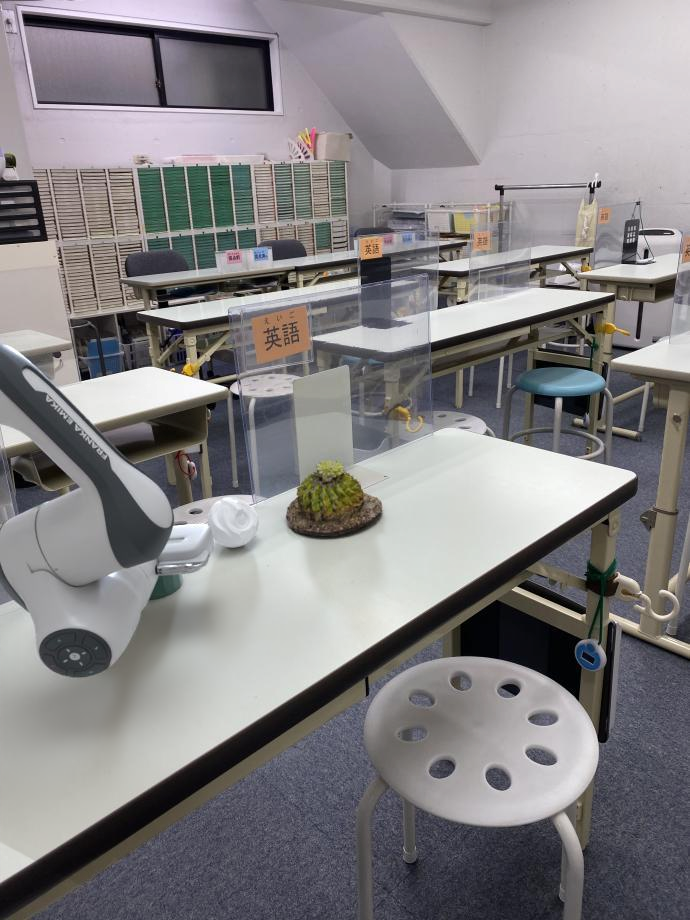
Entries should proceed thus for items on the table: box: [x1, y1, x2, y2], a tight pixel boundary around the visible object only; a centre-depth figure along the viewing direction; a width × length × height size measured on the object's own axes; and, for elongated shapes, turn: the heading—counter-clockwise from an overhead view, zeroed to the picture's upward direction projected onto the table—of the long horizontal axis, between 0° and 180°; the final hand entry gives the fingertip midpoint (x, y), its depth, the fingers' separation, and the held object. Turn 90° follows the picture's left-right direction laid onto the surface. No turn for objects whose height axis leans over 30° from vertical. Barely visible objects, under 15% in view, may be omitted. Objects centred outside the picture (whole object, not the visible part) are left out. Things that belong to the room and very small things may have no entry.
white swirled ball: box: [206, 496, 259, 549], centre depth 107 cm, size 8×8×8 cm
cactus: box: [285, 459, 383, 537], centre depth 114 cm, size 17×16×10 cm
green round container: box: [148, 574, 183, 601], centre depth 98 cm, size 7×7×4 cm
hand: (147, 523), depth 96 cm, fingers closed on chess piece, 2 cm apart
